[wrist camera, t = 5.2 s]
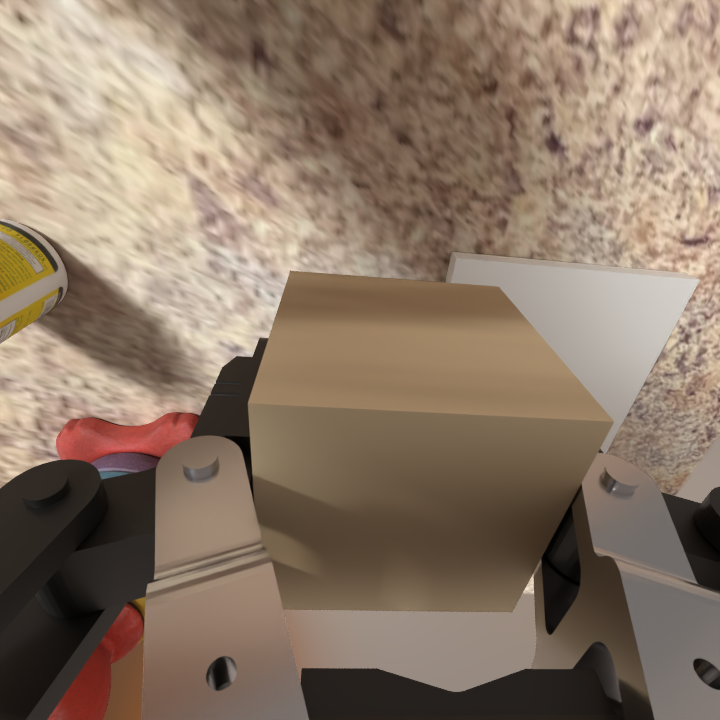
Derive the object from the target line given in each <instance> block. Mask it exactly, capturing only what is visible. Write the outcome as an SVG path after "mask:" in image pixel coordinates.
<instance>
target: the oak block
mask: <svg viewBox="0 0 720 720" xmlns="http://www.w3.org/2000/svg"><path fill="white" fill-rule="evenodd" d="M248 414H249V429H250V444H251V459H252V475H253V490H254V505H255V511H256V516H257V520H258V524H259V529H260V533H261V538H262V542H263V545H264V548H265V547H267V549H268V551H269V554H270V557H271V561H272V564H273V569H274V573H275V577H276V581H277V586H278V590H279V594H280V598H281V603H282V607H283V609H290V610H292V609H293V610H294V609H295V610H372V611H374V610H375V611H377V610H378V611H450V612H454V611H455V612H513V610H514V608H515V606H516V604H517V602H518V600H519V599H520V597H521V595H522V593H523V591H524V589H525V587H526V586H527V584H528V582H529V580H530V578H531V576H532V574H533V573H534V571H535V569H536V567H537V565H538V563H539V561H540V559H541V558H542V556H543V554H544V552H545V550H546V548H547V546H548V545H549V543H550V541H551V539H552V537H553V535H554V533H555V532H556V530H557V528H558V526H559V524H560V522H561V520H562V518H563V517H564V515H565V513H566V511H567V509H568V507H569V505H570V504H571V502H572V500H573V498H574V496H575V494H576V492H577V491H578V489H579V487H580V485H581V483H582V481H583V479H584V477H585V476H586V474H587V472H588V470H589V468H590V466H591V464H592V463H593V461H594V459H595V457H596V455H597V453H598V451H599V450H600V448H601V446H602V444H603V442H604V440H605V438H606V436H607V435H608V433H609V431H610V429H611V427H612V425H613V423H614V421H613V419H612V418H611V417H610V416H609V415H608V414H607V412H606V411H605V410H604V409H603V408H602V407H601V405H600V404H599V403H598V402H597V401H596V400H595V398H594V397H593V396H592V395H591V394H590V393H589V391H588V390H587V389H586V388H585V387H584V386H583V384H582V383H581V382H580V381H579V380H578V379H577V377H576V376H575V375H574V374H573V373H572V372H571V370H570V369H569V368H568V367H567V366H566V365H565V363H564V362H563V361H562V360H561V359H560V358H559V356H558V355H557V354H556V353H555V352H554V351H553V349H552V348H551V347H550V346H549V345H548V344H547V342H546V341H545V340H544V339H543V338H542V337H541V335H540V334H539V333H538V332H537V331H536V330H535V328H534V327H533V326H532V325H531V324H530V323H529V321H528V320H527V319H526V318H525V317H524V315H523V314H522V313H521V312H520V311H519V310H518V308H517V307H516V306H515V305H514V304H513V303H512V301H511V300H510V299H509V298H508V297H507V296H506V294H505V293H504V292H503V291H502V290H501V289H500V287H498V286H485V285H471V284H458V283H444V282H431V281H418V280H404V279H391V278H378V277H364V276H351V275H338V274H324V273H311V272H298V271H290V273H289V277H288V280H287V283H286V286H285V289H284V292H283V295H282V298H281V302H280V305H279V308H278V311H277V314H276V317H275V320H274V323H273V326H272V330H271V333H270V336H269V339H268V342H267V345H266V348H265V351H264V355H263V358H262V361H261V364H260V367H259V370H258V373H257V376H256V379H255V383H254V386H253V389H252V392H251V395H250V398H249V401H248Z"/></svg>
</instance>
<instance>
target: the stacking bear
mask: <svg viewBox="0 0 720 720" xmlns="http://www.w3.org/2000/svg"><path fill="white" fill-rule="evenodd" d="M198 419H199V418H198V417H197V416H196V415H193V414H190V413H175V412H173V413H168V414H166V415H164V416H162V417H161V418H159V419H157V420H156V421H154V422H152V423H149V424H146V425H142V426H119V425H115V424H112V423H109V422H106V421H103V420H100V419H96V418H91V417H90V418H83V419H72V420H70V421H69V422H68V423H67V424H66V425H65V426H64V428H63V430H62V431H61V432H60V433H59V435H58V436H57V439H56V447H57V451H58V454H59V456H60V459H61V460H66V459H76V460H82V461H86V462H89V463H90V464H92V465H94V466H95V467H96V468H97V469H98V471H99V473H100V476H101V479H106V478H111V477H116V476H121V475H126V474H131V473H136V472H140V471H144V470H148V469H151V468H154V467H157V465H158V462H159V461H160V459H161V457H162V456H163V455H164V454H165V453H166V452H167V451H168V450H169V449H170V448H172V447H173V446H175V445H176V444H178V443H180V442H182V441H184V440H187V439H190V437H191V435H192V432H193V430H194V428H195V426H196V424H197V422H198ZM145 599H146V597H143V598H140V599H136V600H133V601H130V602H127V604H126V605H125V607H124V608H123V610H122V611H121V613H120V614H119V615H118V617H117V618H116V620H115V621H114V623H113V624H112V626H111V627H110V629H109V630H108V632H107V633H106V635H105V636H104V637H103V639H102V640H101V642H100V643H99V645H98V646H97V648H96V649H95V651H94V652H93V654H92V655H91V657H90V658H89V659H88V661H87V662H86V664H85V665H84V667H83V668H82V670H81V671H80V673H79V674H78V676H77V677H76V679H75V680H74V681H73V683H72V684H71V686H70V687H69V689H68V690H67V692H66V693H65V695H64V696H63V698H62V699H61V700H60V702H59V703H58V705H57V706H56V708H55V709H54V711H53V712H52V714H51V715H50V717H49V718H48V720H103V718H104V715H105V712H106V709H107V706H108V701H109V696H110V689H111V664H112V663H114V662H116V661H118V660H120V659H121V658H123V657H124V656H125V655H127V654H128V653H129V652H130V651H131V650H132V649H133V648H134V647H135V646H136V645H137V644H138V643H139V642H141V641H142V640H144V625H145Z"/></svg>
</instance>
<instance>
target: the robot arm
mask: <svg viewBox="0 0 720 720" xmlns="http://www.w3.org/2000/svg"><path fill="white" fill-rule="evenodd" d="M268 339H269V338H260V339H259V341H258V344H257V347H256V349H255V352H254V355H253V357H240V356H236V357H235V358H234V359H233V360H231V361H230V362H229V363H228V364H226V365H225V366H224V367H222V370H221V372H220V374H219V376H218V378H217V380H216V384H215V385H214V387H213V389H212V391H211V396H209V398H208V400H207V402H206V404H205V406H204V409H203V411H202V413H201V415H200V417H199V419H198V422H197V424H196V426H195V428H194V430H193V432H192V435H191V437H190V439H187V440H184V441H182V442H180V443H178V444H176V445H175V446H173V447H172V448H170V449H169V450H168V451H167V452H166V453H165V454H164V455H163V456H162V457H161V459H160V461H159V462H158V465H157V467H154V468H151V469H148V470H144V471H140V472H136V473H131V474H126V475H121V476H116V477H111V478H106V479H101V476H100V473H99V471H98V469H97V468H96V467H95V466H94V465H92V464H90V463H89V462H86V461H82V460H76V459H66V460H58V461H52V462H48V463H45V464H41V465H39V466H36V467H34V468H31V469H29V470H27V471H25V472H23V473H22V474H20V475H18V476H16V477H15V478H14V479H12V480H11V481H9V482H8V483H7V484H6V485H4V486H3V487H2V488H1V489H0V720H48V718H49V717H50V715H51V714H52V712H53V711H54V709H55V708H56V706H57V705H58V703H59V702H60V700H61V699H62V698H63V696H64V695H65V693H66V692H67V690H68V689H69V687H70V686H71V684H72V683H73V681H74V680H75V679H76V677H77V676H78V674H79V673H80V671H81V670H82V668H83V667H84V665H85V664H86V662H87V661H88V659H89V658H90V657H91V655H92V654H93V652H94V651H95V649H96V648H97V646H98V645H99V643H100V642H101V640H102V639H103V637H104V636H105V635H106V633H107V632H108V630H109V629H110V627H111V626H112V624H113V623H114V621H115V620H116V618H117V617H118V615H119V614H120V613H121V611H122V610H123V608H124V607H125V605H126V604H127V602H130V601H133V600H136V599H140V598H143V597H146V599H145V625H144V661H143V694H142V695H143V697H142V720H720V487H717V488H714V489H713V490H712V491H711V492H710V493H709V494H708V496H707V497H706V498H705V500H704V501H703V502H702V503H698V502H694V501H690V500H687V499H683V498H679V497H676V496H672V495H669V494H665V493H662V492H661V491H660V489H659V487H658V486H657V484H656V483H655V481H654V480H653V479H652V478H651V477H650V476H649V475H648V474H647V473H645V472H644V471H643V470H642V469H640V468H639V467H637V466H636V465H634V464H632V463H630V462H628V461H627V460H624V459H622V458H620V457H617V456H613V455H610V454H605V453H603V451H602V450H601V449H600V450H599V451H598V453H597V455H596V457H595V459H594V461H593V463H592V464H591V466H590V468H589V470H588V472H587V474H586V476H585V477H584V479H583V481H582V483H581V485H580V487H579V489H578V491H577V492H576V494H575V496H574V498H573V500H572V502H571V504H570V505H569V507H568V509H567V511H566V513H565V515H564V517H563V518H562V520H561V522H560V524H559V526H558V528H557V530H556V532H555V533H554V535H553V537H552V539H551V541H550V543H549V545H548V546H547V548H546V550H545V552H544V554H543V556H542V558H541V559H540V561H539V563H538V565H537V567H536V569H535V571H534V595H535V596H534V597H535V622H536V649H535V656H534V660H533V663H532V667H531V669H524V670H521V671H519V672H516V673H513V674H510V675H508V676H505V677H502V678H499V679H497V680H494V681H491V682H488V683H485V684H482V685H480V686H477V687H474V688H471V689H468V690H466V691H462V692H451V691H447V690H444V689H441V688H437V687H434V686H431V685H428V684H425V683H421V682H418V681H415V680H412V679H409V678H405V677H402V676H399V675H396V674H393V673H389V672H386V671H383V670H380V669H329V668H326V669H322V668H320V669H319V668H302V674H301V683H300V679H299V675H298V671H297V667H296V662H295V658H294V654H293V649H292V645H291V641H290V637H289V632H288V628H287V624H286V620H285V615H284V611H283V607H282V603H281V598H280V594H279V590H278V586H277V581H276V577H275V573H274V569H273V564H272V561H271V557H270V554H269V551H268V549H267V547H265V548H264V545H263V542H262V538H261V533H260V529H259V524H258V520H257V516H256V511H255V505H254V490H253V475H252V459H251V444H250V429H249V414H248V401H249V398H250V395H251V392H252V389H253V386H254V383H255V379H256V376H257V373H258V370H259V367H260V364H261V361H262V358H263V355H264V351H265V348H266V345H267V342H268Z"/></svg>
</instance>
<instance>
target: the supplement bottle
mask: <svg viewBox="0 0 720 720" xmlns="http://www.w3.org/2000/svg"><path fill="white" fill-rule="evenodd" d="M67 286H68V278H67V273H66V269H65V267H64V264H63V262H62V260H61V258H60V257H59V255H58V254H57V252H56V251H55V249H54V248H53V247H52V246H51V245H50V244H49V243H48V242H47V241H46V240H45V239H44V238H43V237H42V236H41V235H39V234H38V233H36V232H35V231H33V230H32V229H30V228H28V227H26V226H24V225H22V224H19V223H17V222H14V221H11V220H6V219H0V343H2V342H3V341H5V340H6V339H8V338H9V337H11V336H12V335H14V334H15V333H17V332H19V331H20V330H22V329H23V328H25V327H26V326H28V325H29V324H31V323H32V322H34V321H35V320H37V319H38V318H40V317H41V316H43V315H45V314H46V313H48V312H49V311H51V310H52V309H53V308H55V307H56V306H57V305H58V304H59V303H60V302H61V301H62V300H63V298H64V296H65V294H66V291H67Z"/></svg>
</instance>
